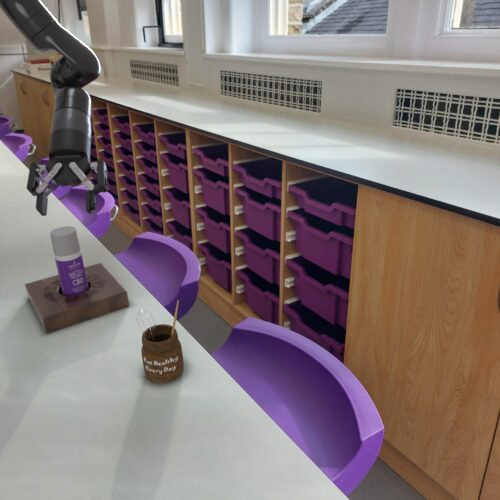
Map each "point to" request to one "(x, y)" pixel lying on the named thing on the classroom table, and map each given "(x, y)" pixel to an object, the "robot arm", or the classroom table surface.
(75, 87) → the robot arm
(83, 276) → the container
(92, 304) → the socket plate
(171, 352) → the utensil holder
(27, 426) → the classroom table surface
